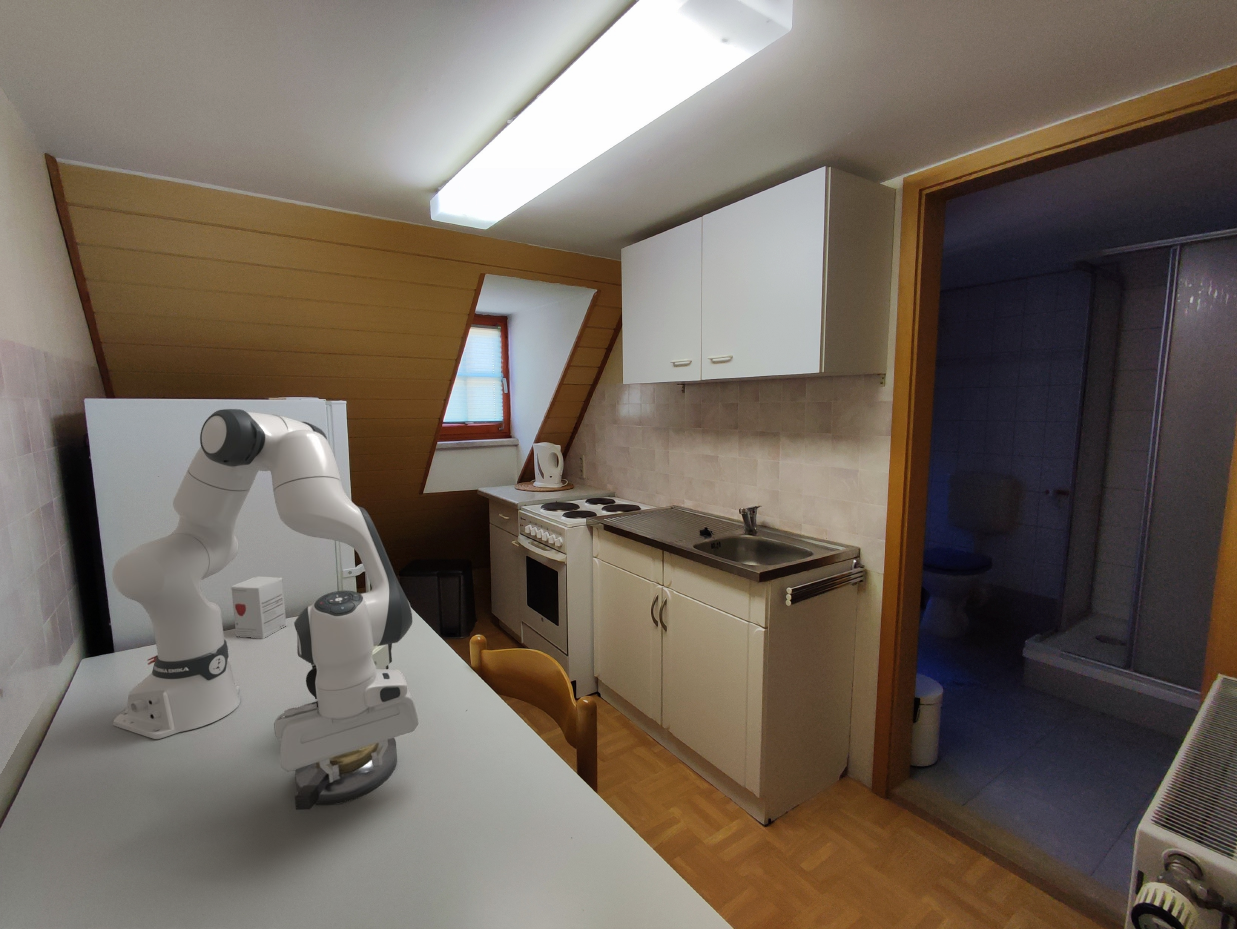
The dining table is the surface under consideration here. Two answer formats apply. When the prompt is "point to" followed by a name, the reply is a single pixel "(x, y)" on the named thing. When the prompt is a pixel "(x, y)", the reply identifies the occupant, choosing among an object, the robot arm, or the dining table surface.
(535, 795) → the dining table surface
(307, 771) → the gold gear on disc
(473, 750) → the dining table surface
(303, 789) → the lever handle valve
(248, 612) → the supplement box
